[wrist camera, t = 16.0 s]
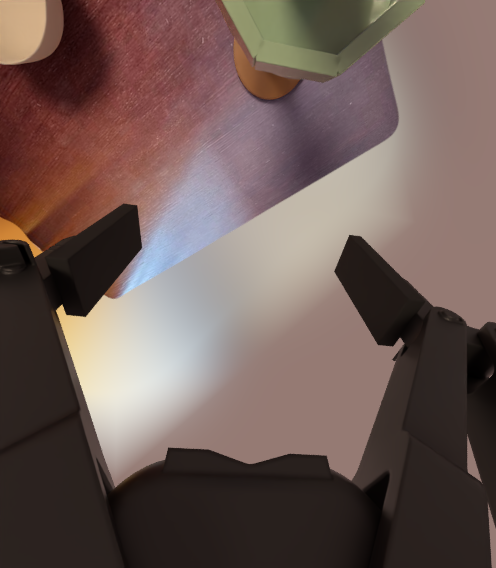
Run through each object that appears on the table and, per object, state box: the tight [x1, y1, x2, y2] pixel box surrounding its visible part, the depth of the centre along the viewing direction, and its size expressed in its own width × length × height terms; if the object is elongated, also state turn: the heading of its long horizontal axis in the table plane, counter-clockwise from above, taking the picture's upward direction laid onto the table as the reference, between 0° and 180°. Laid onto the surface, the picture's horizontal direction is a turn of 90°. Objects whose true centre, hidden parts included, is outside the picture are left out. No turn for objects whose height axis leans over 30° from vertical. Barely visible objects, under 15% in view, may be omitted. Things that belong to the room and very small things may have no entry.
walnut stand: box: [234, 38, 300, 100], centre depth 26 cm, size 12×12×29 cm
